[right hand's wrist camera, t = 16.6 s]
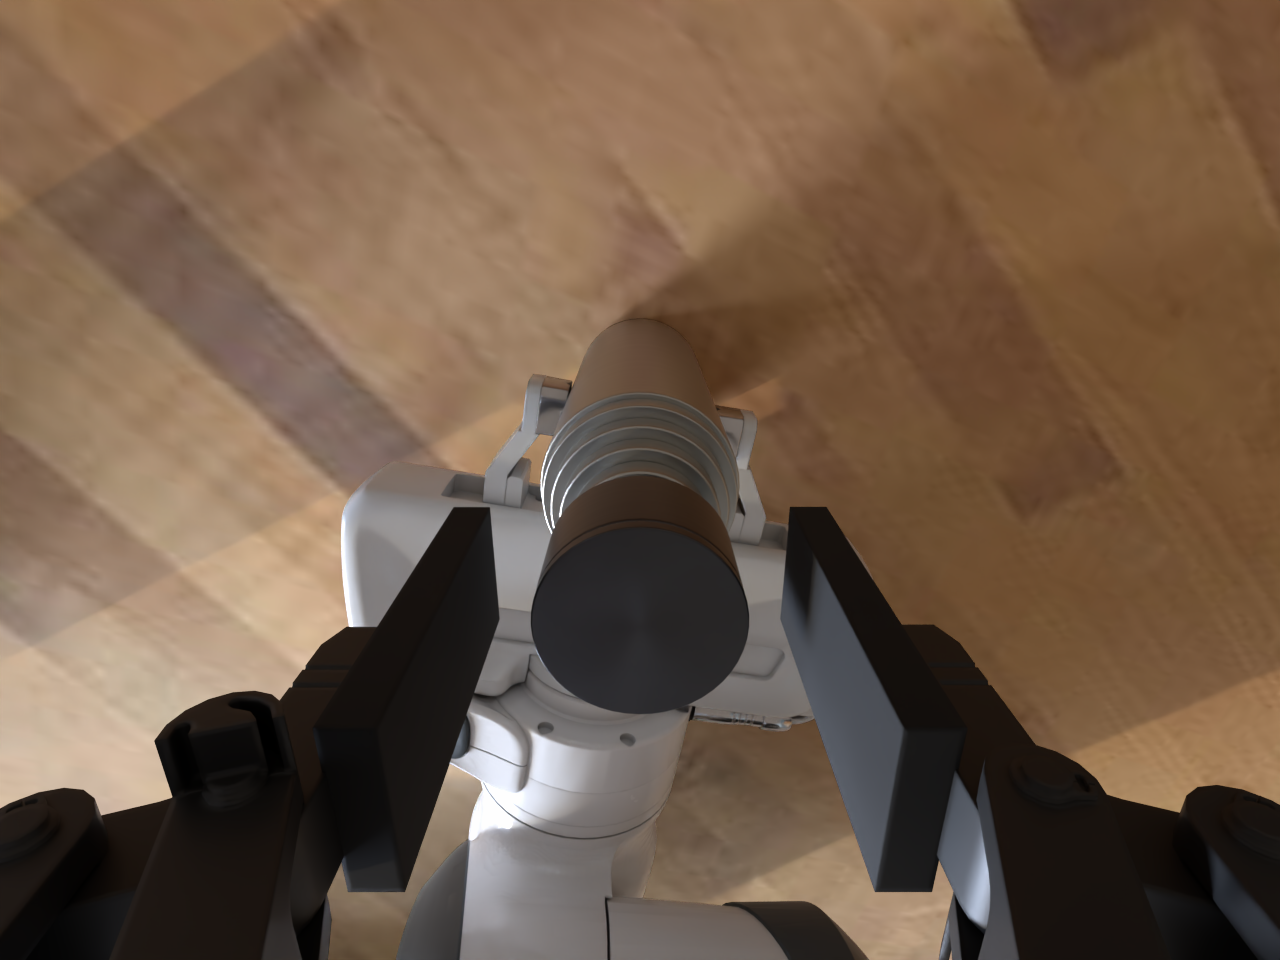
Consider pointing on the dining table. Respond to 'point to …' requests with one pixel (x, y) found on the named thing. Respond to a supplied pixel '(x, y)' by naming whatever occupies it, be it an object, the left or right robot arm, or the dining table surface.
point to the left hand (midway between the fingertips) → (643, 395)
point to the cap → (639, 598)
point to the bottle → (640, 422)
